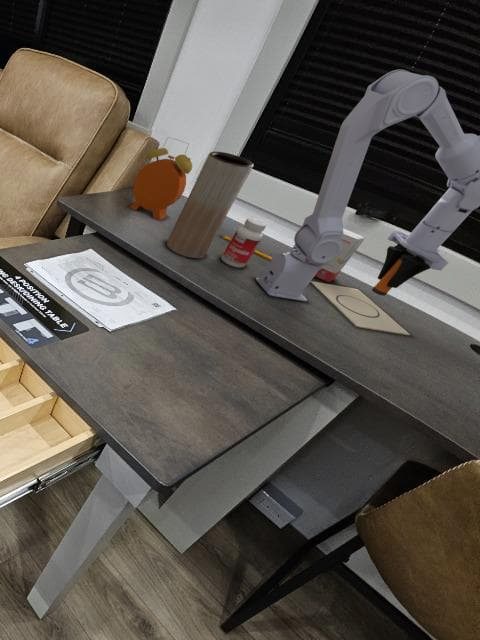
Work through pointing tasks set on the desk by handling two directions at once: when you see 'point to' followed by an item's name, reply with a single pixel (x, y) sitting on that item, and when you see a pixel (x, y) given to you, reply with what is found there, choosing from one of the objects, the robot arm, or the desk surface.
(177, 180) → the alarm clock
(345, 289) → the paper
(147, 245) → the desk surface
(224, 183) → the planter
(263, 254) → the pencil
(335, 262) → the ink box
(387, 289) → the marker
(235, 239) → the pill bottle
